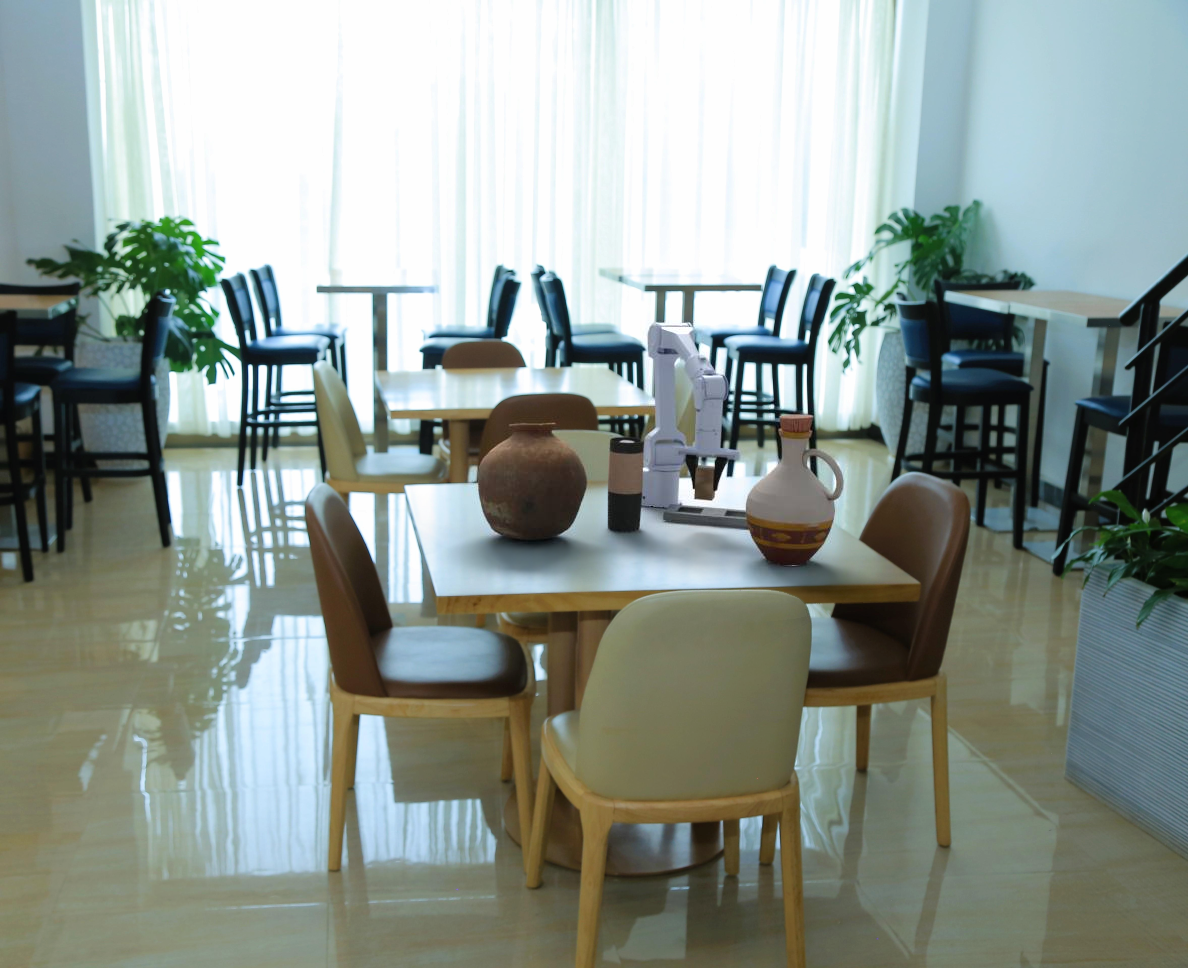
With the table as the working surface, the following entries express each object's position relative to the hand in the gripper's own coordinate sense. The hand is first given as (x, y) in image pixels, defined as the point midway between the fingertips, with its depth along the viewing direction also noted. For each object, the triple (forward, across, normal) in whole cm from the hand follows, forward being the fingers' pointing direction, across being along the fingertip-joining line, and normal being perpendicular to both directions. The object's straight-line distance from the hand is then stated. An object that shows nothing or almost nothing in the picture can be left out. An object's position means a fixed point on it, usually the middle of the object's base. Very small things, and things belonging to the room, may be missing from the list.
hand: (705, 489), depth 265 cm
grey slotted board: (+9, +1, +8) cm, 12 cm away
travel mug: (+9, -17, -7) cm, 20 cm away
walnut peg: (+2, 0, 0) cm, 2 cm away
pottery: (+9, -34, -22) cm, 41 cm away
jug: (+9, +22, -22) cm, 32 cm away
